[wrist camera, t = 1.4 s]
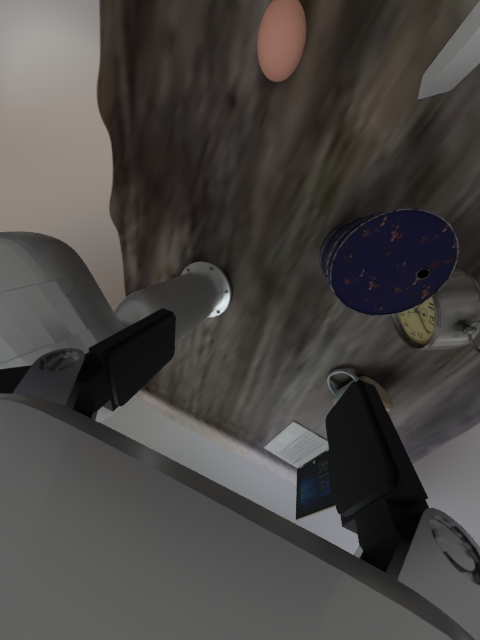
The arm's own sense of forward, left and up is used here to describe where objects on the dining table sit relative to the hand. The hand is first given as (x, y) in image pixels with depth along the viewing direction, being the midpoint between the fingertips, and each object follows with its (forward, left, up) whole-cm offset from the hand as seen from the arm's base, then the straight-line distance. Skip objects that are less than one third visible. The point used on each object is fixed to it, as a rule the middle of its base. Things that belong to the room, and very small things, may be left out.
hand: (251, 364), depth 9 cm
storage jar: (+10, +2, -29) cm, 30 cm away
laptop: (+3, -52, -29) cm, 59 cm away
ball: (-1, +26, -26) cm, 37 cm away
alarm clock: (+19, -5, -29) cm, 35 cm away
